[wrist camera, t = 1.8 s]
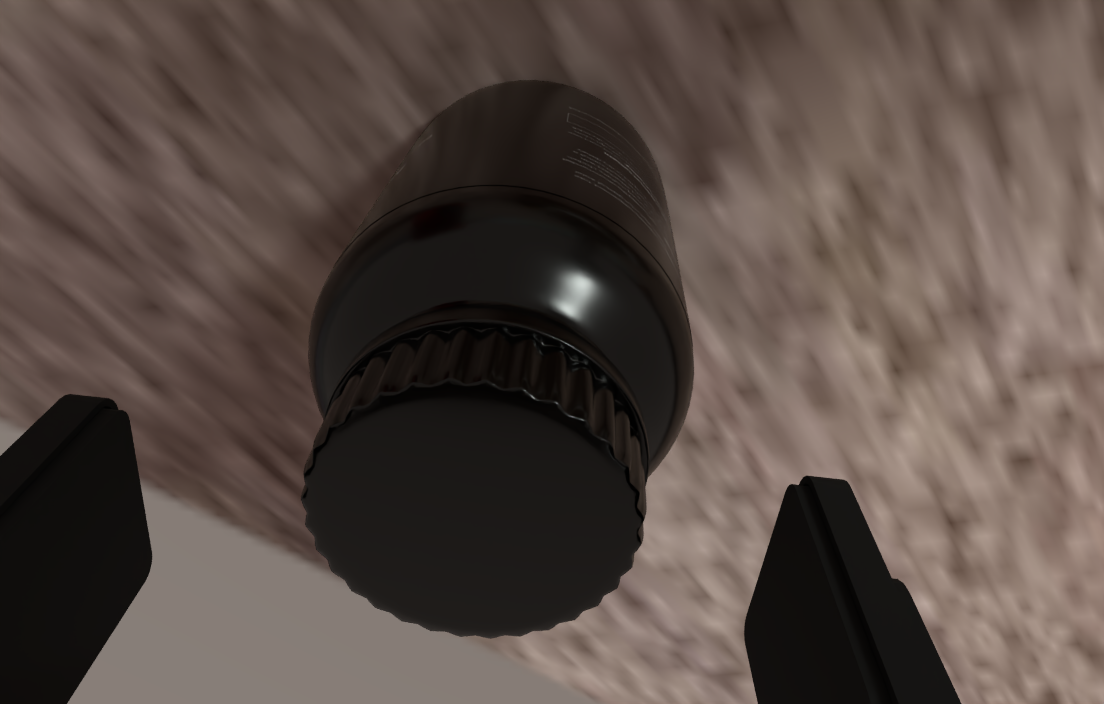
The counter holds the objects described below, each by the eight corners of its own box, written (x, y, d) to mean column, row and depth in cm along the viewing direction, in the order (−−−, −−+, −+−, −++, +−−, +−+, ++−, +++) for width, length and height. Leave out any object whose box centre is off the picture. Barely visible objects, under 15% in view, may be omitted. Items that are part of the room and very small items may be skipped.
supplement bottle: (367, 107, 20) (130, 344, 10) (640, 46, 19) (691, 241, 9) (444, 344, 24) (325, 707, 13) (681, 302, 23) (752, 661, 12)
